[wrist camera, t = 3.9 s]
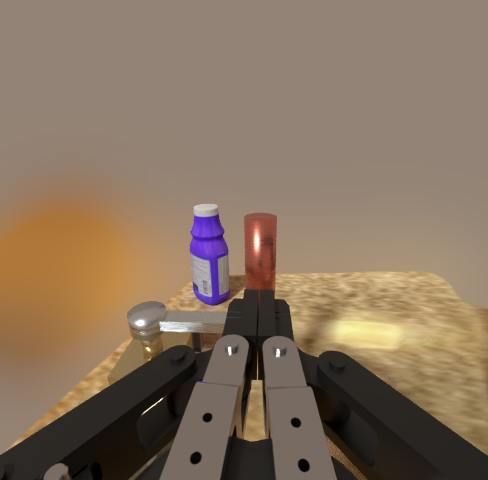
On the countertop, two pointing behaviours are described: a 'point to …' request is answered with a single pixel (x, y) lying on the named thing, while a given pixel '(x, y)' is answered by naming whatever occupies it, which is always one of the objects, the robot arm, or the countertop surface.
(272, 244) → the valve lever
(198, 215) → the bottle
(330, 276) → the countertop surface
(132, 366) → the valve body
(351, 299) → the countertop surface
